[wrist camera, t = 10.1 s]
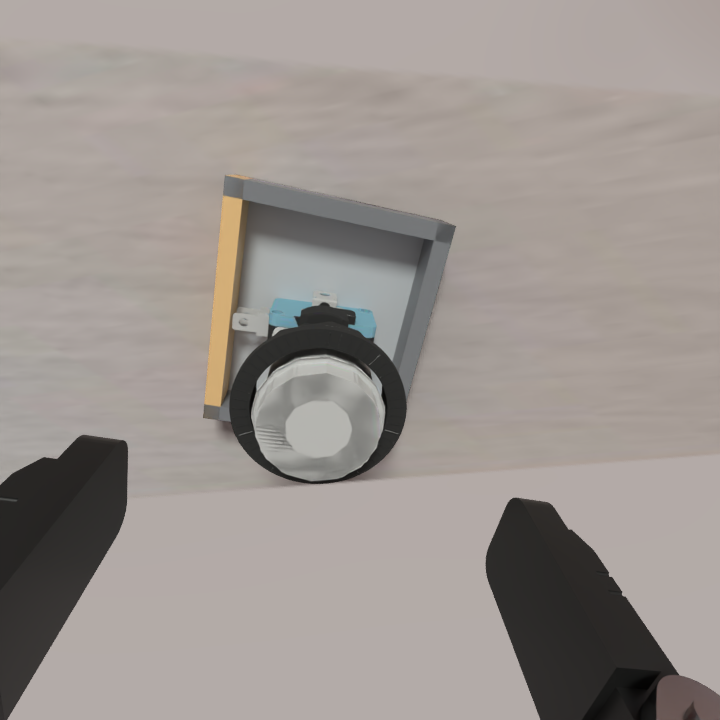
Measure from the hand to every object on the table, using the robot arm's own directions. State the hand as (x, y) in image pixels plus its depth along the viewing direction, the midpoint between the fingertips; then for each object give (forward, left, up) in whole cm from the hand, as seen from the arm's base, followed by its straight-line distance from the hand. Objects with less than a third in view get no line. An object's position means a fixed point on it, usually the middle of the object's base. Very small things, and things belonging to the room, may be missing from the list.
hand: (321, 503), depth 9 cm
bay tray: (0, 0, -14) cm, 14 cm away
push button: (+1, 0, -14) cm, 14 cm away
